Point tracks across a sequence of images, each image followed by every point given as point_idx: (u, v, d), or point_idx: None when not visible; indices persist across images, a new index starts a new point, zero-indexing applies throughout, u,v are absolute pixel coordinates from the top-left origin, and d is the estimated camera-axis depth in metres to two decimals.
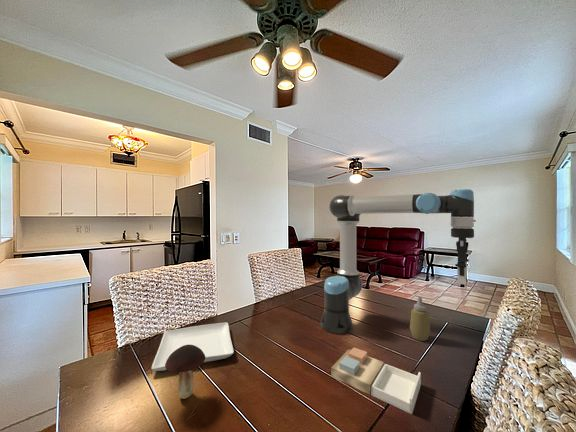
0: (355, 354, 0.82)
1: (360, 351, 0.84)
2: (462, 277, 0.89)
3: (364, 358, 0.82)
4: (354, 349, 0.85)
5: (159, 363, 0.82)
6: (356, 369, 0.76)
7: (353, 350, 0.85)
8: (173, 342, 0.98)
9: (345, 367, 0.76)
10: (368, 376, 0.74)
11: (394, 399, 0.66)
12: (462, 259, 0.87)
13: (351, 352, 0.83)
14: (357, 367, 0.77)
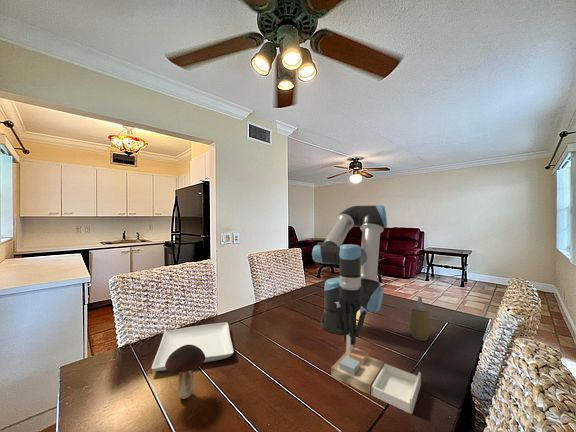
0: (356, 354, 0.82)
1: (361, 351, 0.84)
2: None
3: (365, 358, 0.81)
4: (355, 349, 0.85)
5: (159, 363, 0.82)
6: (356, 369, 0.76)
7: (354, 350, 0.84)
8: (173, 342, 0.98)
9: (345, 367, 0.76)
10: (368, 376, 0.74)
11: (394, 399, 0.66)
12: None
13: (352, 352, 0.83)
14: (357, 367, 0.77)
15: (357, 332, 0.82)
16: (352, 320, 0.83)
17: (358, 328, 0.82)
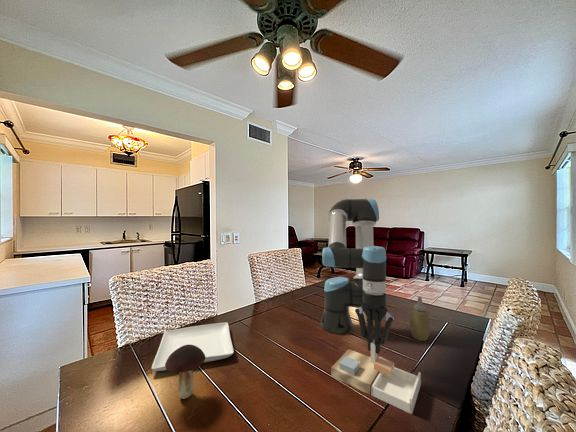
0: (382, 364, 0.77)
1: (387, 361, 0.78)
2: None
3: (391, 370, 0.76)
4: (380, 358, 0.80)
5: (159, 363, 0.82)
6: (356, 369, 0.76)
7: (379, 360, 0.79)
8: (173, 342, 0.98)
9: (345, 367, 0.76)
10: (368, 376, 0.74)
11: (394, 399, 0.66)
12: None
13: (377, 362, 0.78)
14: (357, 367, 0.77)
15: (383, 340, 0.76)
16: (377, 327, 0.78)
17: (384, 336, 0.76)
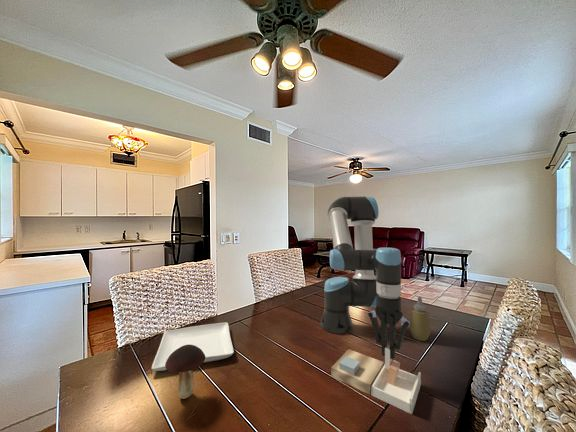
0: (395, 375, 0.74)
1: (397, 373, 0.76)
2: None
3: None
4: (398, 367, 0.76)
5: (159, 363, 0.82)
6: (356, 369, 0.76)
7: (398, 368, 0.75)
8: (173, 342, 0.98)
9: (345, 367, 0.76)
10: (368, 376, 0.74)
11: (394, 399, 0.66)
12: None
13: (396, 370, 0.74)
14: (357, 367, 0.77)
15: (398, 345, 0.74)
16: (392, 332, 0.75)
17: (399, 341, 0.74)
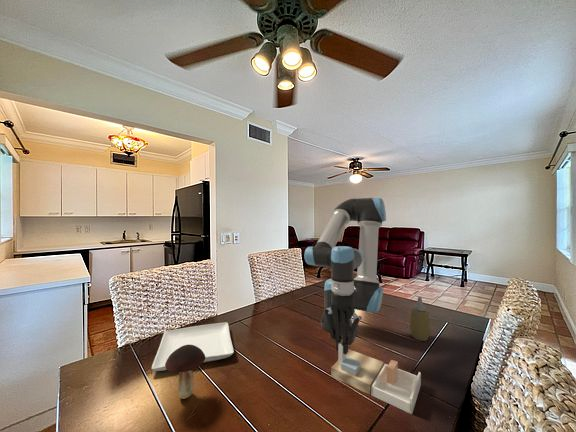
0: (394, 374, 0.74)
1: (396, 372, 0.76)
2: None
3: None
4: (396, 366, 0.76)
5: (159, 363, 0.82)
6: (358, 369, 0.75)
7: (396, 367, 0.76)
8: (173, 342, 0.98)
9: (347, 368, 0.76)
10: (368, 376, 0.74)
11: (394, 399, 0.66)
12: None
13: (394, 369, 0.74)
14: (359, 368, 0.76)
15: (350, 341, 0.76)
16: (344, 328, 0.77)
17: (351, 336, 0.76)
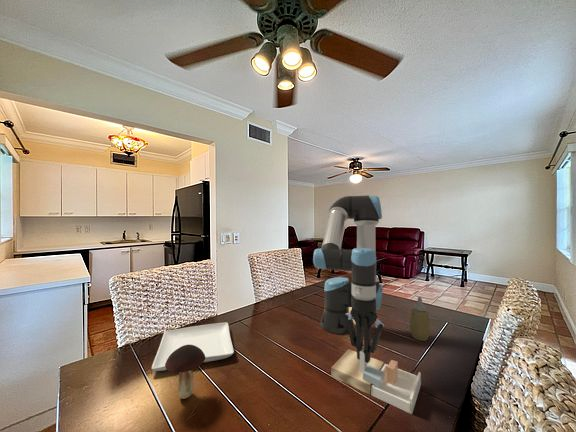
0: (394, 374, 0.74)
1: (396, 372, 0.76)
2: None
3: None
4: (396, 366, 0.76)
5: (159, 363, 0.82)
6: (381, 380, 0.71)
7: (396, 367, 0.76)
8: (173, 342, 0.98)
9: (370, 378, 0.71)
10: None
11: (394, 399, 0.66)
12: None
13: (394, 369, 0.74)
14: (382, 378, 0.71)
15: (372, 348, 0.72)
16: (366, 334, 0.73)
17: (374, 344, 0.71)
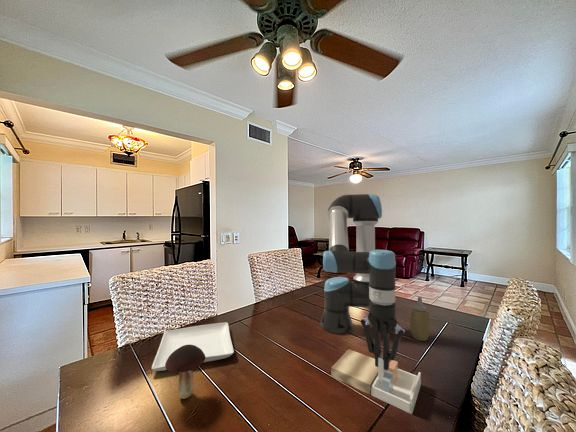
0: (394, 374, 0.74)
1: (396, 372, 0.76)
2: None
3: None
4: (396, 366, 0.76)
5: (159, 363, 0.82)
6: None
7: (396, 367, 0.76)
8: (173, 342, 0.98)
9: (386, 389, 0.68)
10: (368, 376, 0.74)
11: (394, 399, 0.66)
12: None
13: (394, 369, 0.74)
14: None
15: (392, 355, 0.68)
16: (386, 341, 0.70)
17: (394, 351, 0.68)
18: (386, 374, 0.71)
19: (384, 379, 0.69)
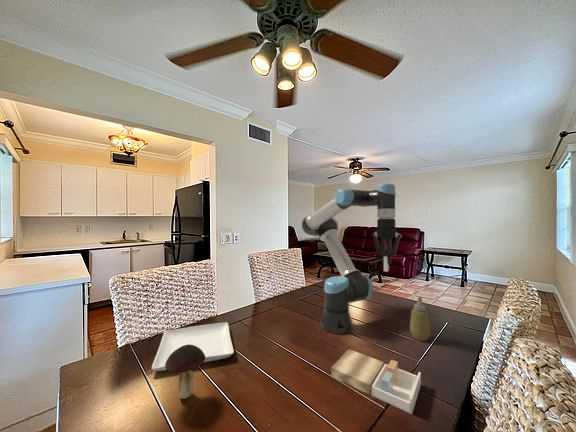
0: (394, 374, 0.74)
1: (396, 372, 0.76)
2: None
3: None
4: (396, 366, 0.76)
5: (159, 363, 0.82)
6: None
7: (396, 367, 0.76)
8: (173, 342, 0.98)
9: (386, 389, 0.68)
10: (368, 376, 0.74)
11: (394, 399, 0.66)
12: None
13: (394, 369, 0.74)
14: None
15: (393, 252, 1.02)
16: (389, 243, 1.03)
17: (394, 249, 1.01)
18: (385, 374, 0.71)
19: (383, 379, 0.69)
